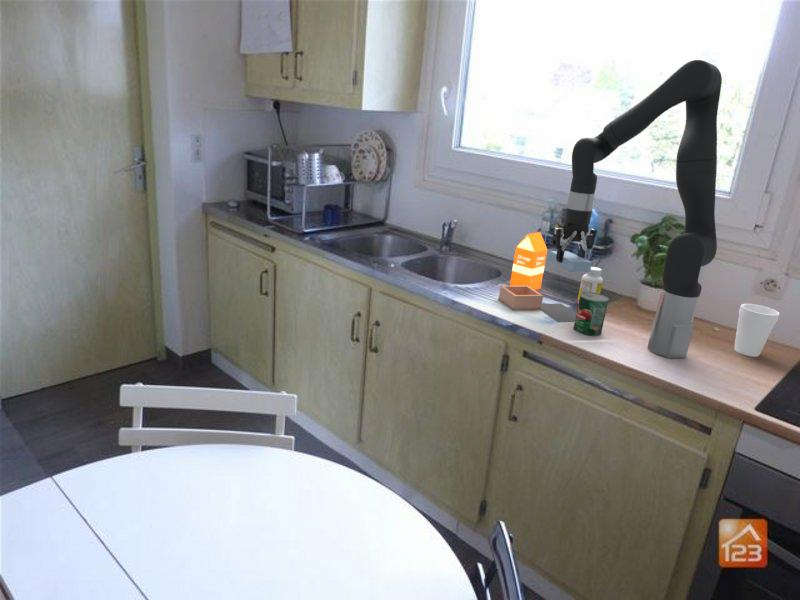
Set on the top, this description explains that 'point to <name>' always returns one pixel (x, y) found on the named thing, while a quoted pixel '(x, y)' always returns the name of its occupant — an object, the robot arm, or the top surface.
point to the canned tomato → (590, 313)
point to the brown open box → (520, 297)
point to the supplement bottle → (591, 282)
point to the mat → (559, 312)
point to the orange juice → (529, 262)
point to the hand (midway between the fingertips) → (569, 261)
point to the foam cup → (754, 328)
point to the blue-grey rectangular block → (571, 262)
